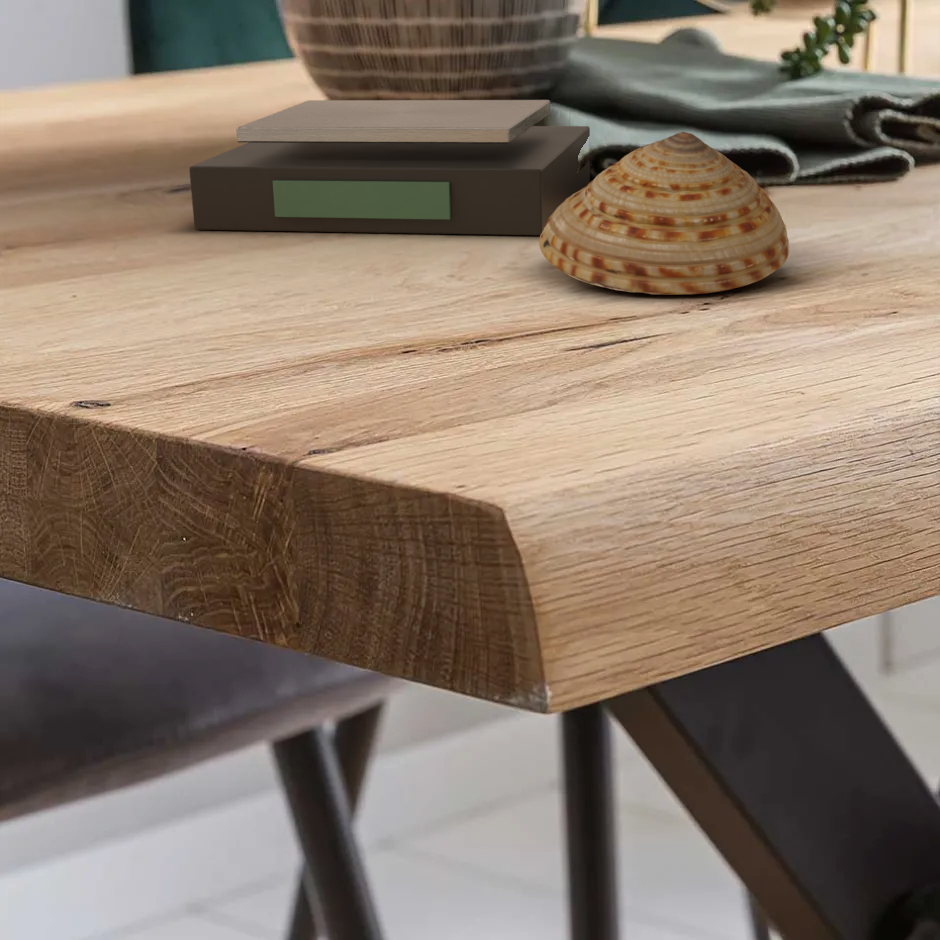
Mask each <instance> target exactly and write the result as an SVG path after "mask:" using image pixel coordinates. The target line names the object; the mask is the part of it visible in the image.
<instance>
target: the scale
mask: <svg viewBox="0 0 940 940" xmlns="http://www.w3.org/2000/svg"><path fill="white" fill-rule="evenodd" d="M589 136H590V137H591V128H590V126H589V125H533V126H532V127H531V128H529V129H528V130H526V131H525V132H524V133H522V134H521V135H519V136H518V137H517V138H515V139H514V140H513V141H511V142H510V143H508V144H488V143H253V142H245V143H244V144H242V145H239V146H237V147H234V148H231V149H229V150H227V151H224V152H222V153H220V154H217V155H215V156H212V157H209V158H207V159H205V160H202V161H200V162H198V163H195V164H193V165H191V166H189V170H188V171H189V180H190V191H191V192H190V193H191V202H192V203H191V205H192V214H193V227H194V230H198V231H252V232H253V231H258V232H259V231H261V232H314V233H316V232H317V233H321V232H322V233H372V234H373V233H374V234H375V233H376V234H377V233H378V234H427V235H428V234H435V235H493V236H494V235H495V236H497V235H498V236H541V234H542V231H543V230H544V226H545V224H546V222H547V220H548V219H549V218H550V216H551V215H552V214H553V212H554V211H555V210H556V209H557V208H558V207H559V206H560V205H561V204H562V203H563V202H564V201H565V200H566V199H567V198H569V197H570V196H571V195H573V194H574V193H576V192H578V191H580V190H581V189H582V188H584V187H586V186H588V184H589V183H590V182H591V160H590V161H589V162H588V163H587V164H586V165H585V166H584V167H583V168H582V169H581V170H580V171H579V172H578V168H579V165H580V164H579V161H578V155H579V153H580V150H581V148H582V147H583V145H584V144H585V143H586V141H587V139H588V137H589ZM577 172H578V173H577Z"/></svg>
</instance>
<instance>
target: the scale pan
mask: <svg viewBox="0 0 940 940" xmlns="http://www.w3.org/2000/svg"><path fill="white" fill-rule="evenodd" d="M550 113H551V101H550V100H549V99H393V100H392V99H388V100H385V99H384V100H383V99H379V100H377V99H374V100H373V99H363V100H362V99H358V100H357V99H355V100H353V99H352V100H351V99H349V100H348V99H347V100H346V99H345V100H344V99H336V100H335V99H333V100H332V99H331V100H327V99H326V100H322V99H321V100H314V99H313V100H306V101H303V102H301V103H297V104H296V105H293V106H290V107H288V108H284V109H282V110H280V111H277V112H274V113H271V114H268V115H265V116H264V117H261V118H259V119H255V120H253V121H250V122H248V123H245V124H242V125H240V126H238V127H236V141H237V143H249V142H253V143H488V144H508V143H510V142H511V141H513V140H514V139H515V138H517V137H518V136H519V135H521V134H522V133H524V132H525V131H526V130H528V129H529V128H531V127H532V126H536V124H538V123H539V122H540V121H542V120H543V119H544V118H546V117H547V116H548V115H550Z"/></svg>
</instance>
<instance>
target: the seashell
mask: <svg viewBox="0 0 940 940" xmlns="http://www.w3.org/2000/svg"><path fill="white" fill-rule="evenodd" d="M538 247H539V249H540V252H541V254H542V255H543V257H544V258H545V259H546V260H547V261H548V263H549V264H551V266H552V267H553V268H555V269H557V270H558V271H560V272H562V273H563V274H565V275H567V276H568V277H571V278H572V279H575V280H577V281H580V282H583V283H586V284H589V285H593V286H597V287H600V288H605V289H610V290H615V291H621V292H627V293H643V294H649V295H666V296H667V295H670V296H671V295H700V294H710V293H717V292H723V291H730V290H733V289H737V288H741V287H746V286H748V285H751V284H754V283H756V282H759V281H761V280H763V279H765V278H767V277H768V276H770V275H771V274H773V273H775V272H776V271H778V270H779V269H780V268H781V267H783V266H784V265H785V263H786V261H787V260H788V258H789V255H790V242H789V238H788V231H787V225H786V224H785V222H784V220H783V218H782V215H781V213H780V211H779V209H778V208H777V206H776V204H775V203H774V202H773V200H772V199H771V198H770V196H769V195H768V194H767V192H766V191H765V190H764V189H763V187H761V186H760V184H758V183H757V181H756V179H754V178H753V177H752V176H751V175H750V174H749V173H748V171H746V170H744V169H742V168H741V167H740V166H738V165H737V164H736V163H734V162H733V161H732V160H730V159H729V158H727V156H725V155H724V154H723V153H721V152H720V151H718V150H717V149H715V148H713V147H712V146H710V145H708V144H707V143H705V142H704V141H703V140H702V139H700V138H699V137H697V136H696V135H695V134H693V133H691V132H686V131H681V132H677V133H674V134H673V135H671V136H668V137H666V138H664V139H661V140H656V141H654V142H652V143H649V144H646V145H644V146H642V147H639V148H636V149H634V150H633V151H631V152H629V153H628V154H626V155H624V156H623V157H622V158H621V159H619V161H617V162H615V163H614V164H612V165H610V166H608V167H607V168H606V169H604V170H602V171H601V172H600V173H598V174H597V175H596V176H595V178H594V179H593V180H590V182H589V183H588V185H587V186H586V187H584V188H582V189H581V190H580V191H578V192H576V193H574V194H573V195H571V196H570V197H569V198H567V199H566V200H565V201H564V202H563V203H562V204H561V205H560V206H559V207H558V208H557V209H556V210H555V211H554V212H553V214H552V215H551V216H550V218H549V219H548V220H547V222H546V224H545V226H544V230H543V231H542V234H541V235H539V241H538Z"/></svg>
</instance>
